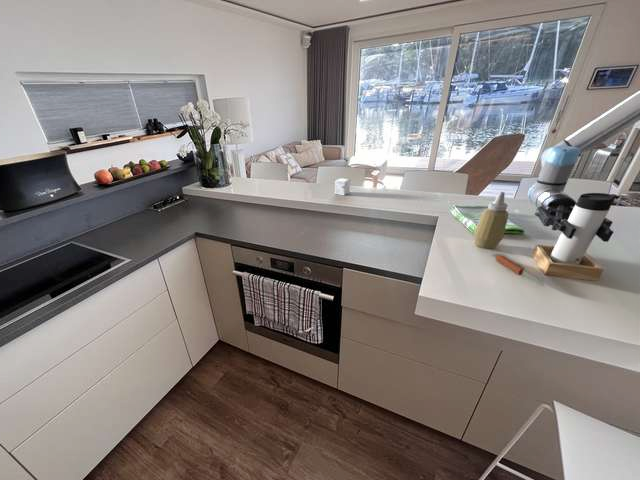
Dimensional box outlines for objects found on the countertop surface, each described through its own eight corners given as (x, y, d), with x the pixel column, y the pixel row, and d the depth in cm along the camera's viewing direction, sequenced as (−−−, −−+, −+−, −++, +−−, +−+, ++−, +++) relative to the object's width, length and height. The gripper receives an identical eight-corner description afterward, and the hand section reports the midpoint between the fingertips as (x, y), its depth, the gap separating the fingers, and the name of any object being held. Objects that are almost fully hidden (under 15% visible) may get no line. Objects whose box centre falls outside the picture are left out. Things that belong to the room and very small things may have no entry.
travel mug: (581, 271, 77) (622, 199, 67) (550, 265, 81) (584, 196, 70) (576, 260, 82) (614, 191, 72) (546, 255, 85) (578, 189, 75)
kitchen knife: (494, 260, 87) (496, 254, 86) (498, 259, 88) (500, 254, 86) (539, 289, 74) (543, 283, 73) (544, 288, 74) (548, 282, 73)
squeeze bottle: (494, 240, 98) (512, 188, 89) (503, 251, 92) (523, 196, 82) (468, 239, 100) (482, 188, 91) (474, 249, 94) (491, 196, 85)
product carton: (334, 194, 157) (334, 180, 153) (340, 191, 161) (340, 177, 157) (344, 195, 153) (345, 181, 150) (349, 192, 157) (350, 179, 154)
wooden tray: (531, 254, 89) (535, 244, 87) (577, 259, 85) (583, 248, 83) (544, 274, 79) (549, 263, 77) (597, 281, 75) (603, 269, 73)
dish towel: (491, 211, 120) (494, 203, 119) (525, 234, 101) (529, 224, 99) (448, 212, 123) (450, 204, 121) (472, 234, 103) (475, 225, 101)
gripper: (590, 219, 88) (634, 253, 70) (514, 214, 95) (536, 244, 77) (602, 195, 84) (652, 224, 66) (522, 192, 91) (547, 218, 73)
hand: (590, 235), depth 72 cm, fingers closed on travel mug, 6 cm apart
